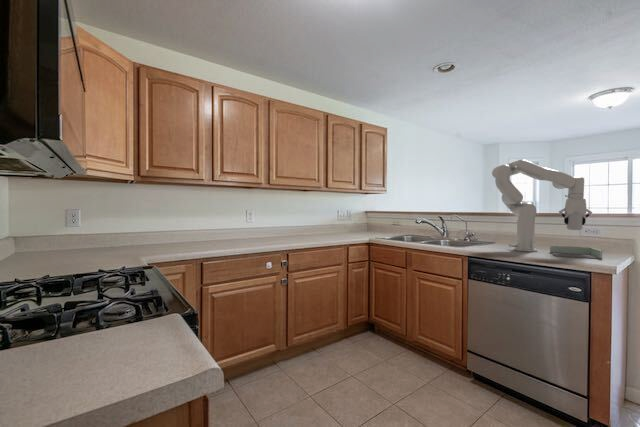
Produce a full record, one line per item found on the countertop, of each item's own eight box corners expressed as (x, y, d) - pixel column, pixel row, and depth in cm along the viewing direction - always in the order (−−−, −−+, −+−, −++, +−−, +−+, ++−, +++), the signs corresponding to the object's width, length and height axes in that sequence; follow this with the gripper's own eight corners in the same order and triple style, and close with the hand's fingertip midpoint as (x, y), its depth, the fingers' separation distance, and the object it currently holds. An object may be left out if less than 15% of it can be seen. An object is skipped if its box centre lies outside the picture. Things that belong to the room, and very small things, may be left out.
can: (581, 229, 189) (581, 211, 189) (583, 230, 183) (583, 211, 183) (565, 229, 194) (566, 210, 193) (567, 229, 187) (568, 210, 187)
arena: (556, 256, 171) (556, 248, 171) (549, 252, 185) (550, 245, 185) (602, 259, 161) (602, 250, 161) (591, 255, 176) (592, 247, 176)
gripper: (559, 196, 189) (558, 224, 189) (595, 196, 181) (594, 225, 181) (557, 196, 195) (555, 223, 196) (591, 196, 187) (590, 224, 188)
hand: (574, 224), depth 188 cm, fingers closed on can, 7 cm apart
